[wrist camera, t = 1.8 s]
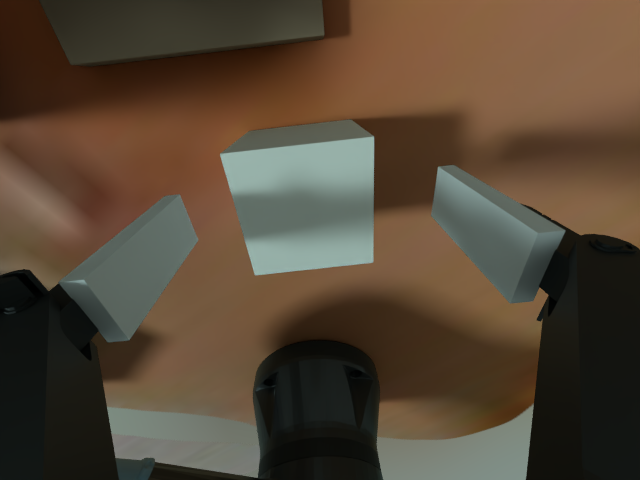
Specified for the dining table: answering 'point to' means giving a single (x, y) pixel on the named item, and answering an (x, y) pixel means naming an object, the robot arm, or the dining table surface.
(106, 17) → the post board
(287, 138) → the sage green cube
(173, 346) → the dining table surface
